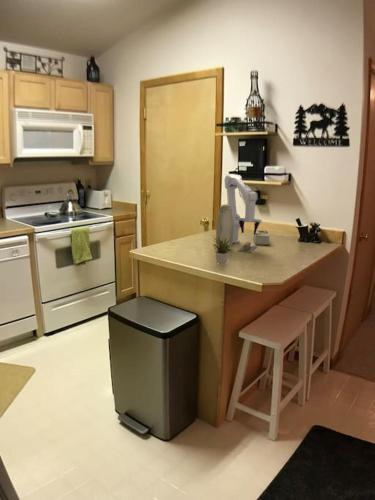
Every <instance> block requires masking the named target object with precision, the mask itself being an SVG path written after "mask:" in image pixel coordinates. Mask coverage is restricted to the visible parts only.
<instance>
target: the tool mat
mask: <svg viewBox="0 0 375 500" xmlns="http://www.w3.org/2000/svg"><path fill="white" fill-rule="evenodd" d="M257 247H258V245H257V244H254V247H253V248H250V249H249V250H248V251H246V250H243V248H244V245H242V247H240V248H238V250H237V252H239V253H240V252H241V253H242V252H243V253H249V254H250V253H252V252H254V250H255V249H256V248H257Z"/></svg>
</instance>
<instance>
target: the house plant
mask: <svg viewBox="0 0 375 500" xmlns="http://www.w3.org/2000/svg"><path fill="white" fill-rule="evenodd" d="M210 236H211V237H212V235H210ZM217 238H218V240H219V242H218V241H217V240H216V238H215V237H213V238H212V241H213V242H214V243H213V244H212V246H213V247H214V249H213V250H214V251H215V250H216V251H215V261H216V264H217V263H219V264H218V265H226V264H227V261H228V257H229V250H230V248H231V247H232V245H231V246H230V245H227V243H228V242H229V241H230V240H231V239H232V238H231V239H230V240H229V241H227V242H226V238H225V241H224V243H223V241H220V238H219V236H217ZM233 238H234V237H233ZM222 240H224V239H222ZM216 241H217V243H218V245H219V247H220V248H219V247H218V245H217V243H216ZM225 242H226V243H225ZM228 246H230V248H229V247H228ZM227 247H228V248H227ZM225 263H226V264H225Z"/></svg>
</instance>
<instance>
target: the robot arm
mask: <svg viewBox="0 0 375 500" xmlns="http://www.w3.org/2000/svg"><path fill="white" fill-rule="evenodd" d="M224 188H225V189H226V196H227V205H229V206H230V207H231V209H232V218H233V237H234V238H233V241H232V244H233V243H234V244H237V243H239V242H240V239H239V230H241V234H244V232H245V231H244V230H245V223H246V222H247V223H254V227H253V228H254V230H253V235H254V234H256V231H258V228H259V226H260V224H262V219H260V218H259V219H258V218H255V217H256V216H255V214H256V202H257V201H258V198H259V196H258V192H257V191H253V190H252V189H251V188H250V187H249V185H245V183H244V182H243V178H242V176H241V174H235V175H234V174H231V175H230V174H227V175H225V178H224ZM238 188H239V189H240V194H242V195H243V197H244V205H245V210H244V211H245V212H244V214H245V215H244V217H241V216H240V215H239V214H238V212H237V211H238V210H237V204H236V203H237V202H236V201H237V200H236V191H235V190H237V189H238Z"/></svg>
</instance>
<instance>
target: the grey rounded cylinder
mask: <svg viewBox="0 0 375 500" xmlns="http://www.w3.org/2000/svg"><path fill="white" fill-rule="evenodd" d="M218 210H219V212H218V217H217V221H216V230H215V231H216V232H215V233H216V235H215V239H216V240H217V241H218V242H219V240H218V238H217V236H219V238H220V241H223V243H224V241H225V238H226V242H227V241H229V240H230V239H231V238H232V239H231V240H230V241H229V242H228V243H227V245H230V246H231V247H232V246H233V243H232V241H233V219H234V218H232V209H231V207H230V206H229V205H228V204H221V206H220V207H219V209H218ZM222 239H224V240H222ZM216 240H215V242H216V243H217V241H216ZM226 242H225V243H226ZM216 243H215V244H216ZM216 245H218V243H217V244H216ZM230 246H228V247H229V249H231V247H230ZM218 247H219V245H218ZM228 247H227V248H228ZM219 248H220V247H219Z"/></svg>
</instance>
